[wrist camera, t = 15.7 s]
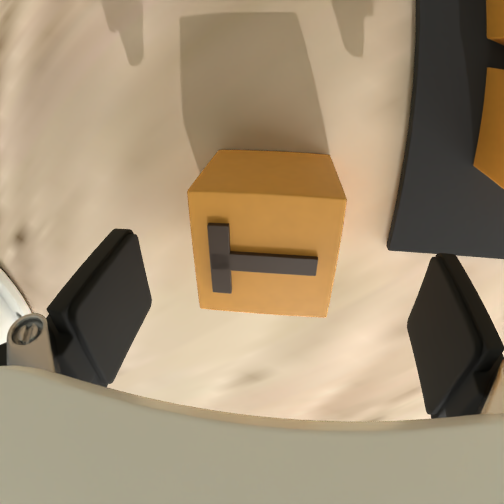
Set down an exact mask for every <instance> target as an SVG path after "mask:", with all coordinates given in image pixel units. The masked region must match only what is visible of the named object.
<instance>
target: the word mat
mask: <svg viewBox="0 0 504 504" xmlns="http://www.w3.org/2000/svg"><path fill="white" fill-rule="evenodd" d="M488 67H490V68H497V69H503V70H504V45H502V44H499V43H497V42H495V41H492V40H490V39H488V38H487V13H486V0H416V43H415V64H414V79H413V91H412V101H411V111H410V119H409V127H408V135H407V142H406V149H405V155H404V162H403V168H402V174H401V179H400V185H399V190H398V195H397V200H396V205H395V210H394V215H393V220H392V224H391V229H390V233H389V237H388V241H387V248H388V250H390V251H405V252H418V253H432V254H438V253H447V254H455V255H459V256H472V257H485V258H497V259H504V189H503V188H502V187H500V186H499V185H498V184H497V183H495V182H494V181H493V180H491V179H490V178H489V177H488V176H486V175H485V174H484V173H482V172H481V171H480V170H478V169H477V168H476V167H474V166H473V164H474V159H475V154H476V149H477V144H478V138H479V132H480V126H481V120H482V112H483V105H484V96H485V87H486V75H487V68H488Z"/></svg>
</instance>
